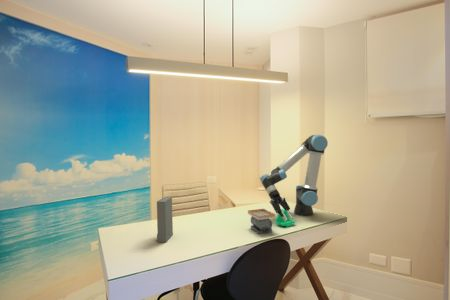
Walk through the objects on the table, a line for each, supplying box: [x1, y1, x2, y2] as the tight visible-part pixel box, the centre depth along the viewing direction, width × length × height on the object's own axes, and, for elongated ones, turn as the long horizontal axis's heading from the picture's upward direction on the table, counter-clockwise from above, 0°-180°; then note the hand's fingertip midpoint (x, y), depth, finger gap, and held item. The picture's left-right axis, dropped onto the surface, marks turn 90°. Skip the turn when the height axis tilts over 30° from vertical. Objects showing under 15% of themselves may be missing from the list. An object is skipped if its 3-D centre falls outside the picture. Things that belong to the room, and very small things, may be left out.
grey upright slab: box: [156, 196, 174, 243], centre depth 172 cm, size 14×6×25 cm, turn 174°
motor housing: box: [247, 208, 276, 235], centre depth 185 cm, size 12×16×12 cm
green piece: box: [274, 208, 296, 228], centre depth 195 cm, size 12×8×10 cm, turn 119°
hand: (288, 219), depth 192 cm, fingers closed on green piece, 4 cm apart
